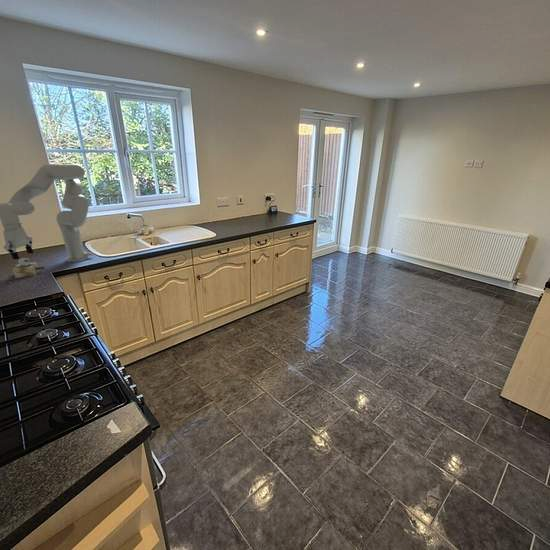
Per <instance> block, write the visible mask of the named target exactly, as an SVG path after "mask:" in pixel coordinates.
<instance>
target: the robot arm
mask: <svg viewBox="0 0 550 550" xmlns="http://www.w3.org/2000/svg"><path fill="white" fill-rule="evenodd" d="M85 174H86V173H85V169H84V167H83V166H82V165H81V164H79V163H63V164H62V163H61V164H59V163H58V164H55V163H54V164H53V163H52V164H51V163H45V164H43V165H42V166H41V167H40V168H39V170H37V172H36V173H35V174H34V176H33V177H32V178H31V180H30V181H28V183H27V184H25V185H23V186H22V187H21V188H19V189H18V190H16V192H15V193H14V194H13V195H12V196H11V198H10V199H9V201H8V202H1V203H0V222H1V225H2V227H3V237H4V241H5V245H4V246H3V249H4V250H6V252H8V253H10V255H11V258H12V260H19V259H20V256H19V254H18V251H17V249H19V248H21V247H25V250H26V253H27V254H34V251H33V247H32V246H33V237H32V236H31V237H30V236H28V234H27V232H26V231H25V228H24V227H23V225H22V222H21V221H20V217H19V216H27V215H28V216H29V215H31V214H33V213H34V212H35V209H36V208H35V205H34V204H33V203H32V202H30V201H31V200H33V199H34V198H36V197H39V196H41V195H43V194H45V193H46V192H47V191H48V190H49V189H50V187H51V186H52V184H54V182H55V180H56V181H64V182H65V187H64V189H65V190H64V194H63V197H62V205H63V207H64V208H65V209H68V210H61V211H60V212H58V213H57V214H56V217H55V218H56V222H57V224H58V227H59V228H60V232H61V234H62V235H61V236H62V238H63V243H64V246H65V250H66V253H67V257H66V258H65V260H66V262H68V263H76V262H82V261H86V260H89V256H93V255H94V253H93V252H92V251H89V252H87V251H86V250H85V248H84V245H83V239H82V236H81V231H80V229H79V228H81V227H83V226H84V225H85V223H86V222H87V221H86V220H87V217H88V212H89V208H90V203H89V199H88V198H87V197H86V196H84V195H82V191H83V185H82V182H81V181H80V179H82V178H84V176H85Z"/></svg>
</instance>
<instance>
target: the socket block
mask: <svg viewBox="0 0 550 550" xmlns="http://www.w3.org/2000/svg"><path fill="white" fill-rule="evenodd" d="M30 264H31V266H30V267H22V268H20V265H19V263H18V264H16V265H15V267H13V268H12V272H13V274H14V277H15V279H17V278H24V277H26V278H27V277H32V276H37V274H38V272H39V270H45V269H46V268H45V267H46V266H38V263H37V262H30Z"/></svg>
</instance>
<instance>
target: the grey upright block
mask: <svg viewBox="0 0 550 550" xmlns="http://www.w3.org/2000/svg"><path fill="white" fill-rule="evenodd" d="M17 261H18V264H19V265H20V268H22V267H30V266H31V264H30V263H31V260H30V258H28V257H22V258H19V259H17Z"/></svg>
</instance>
